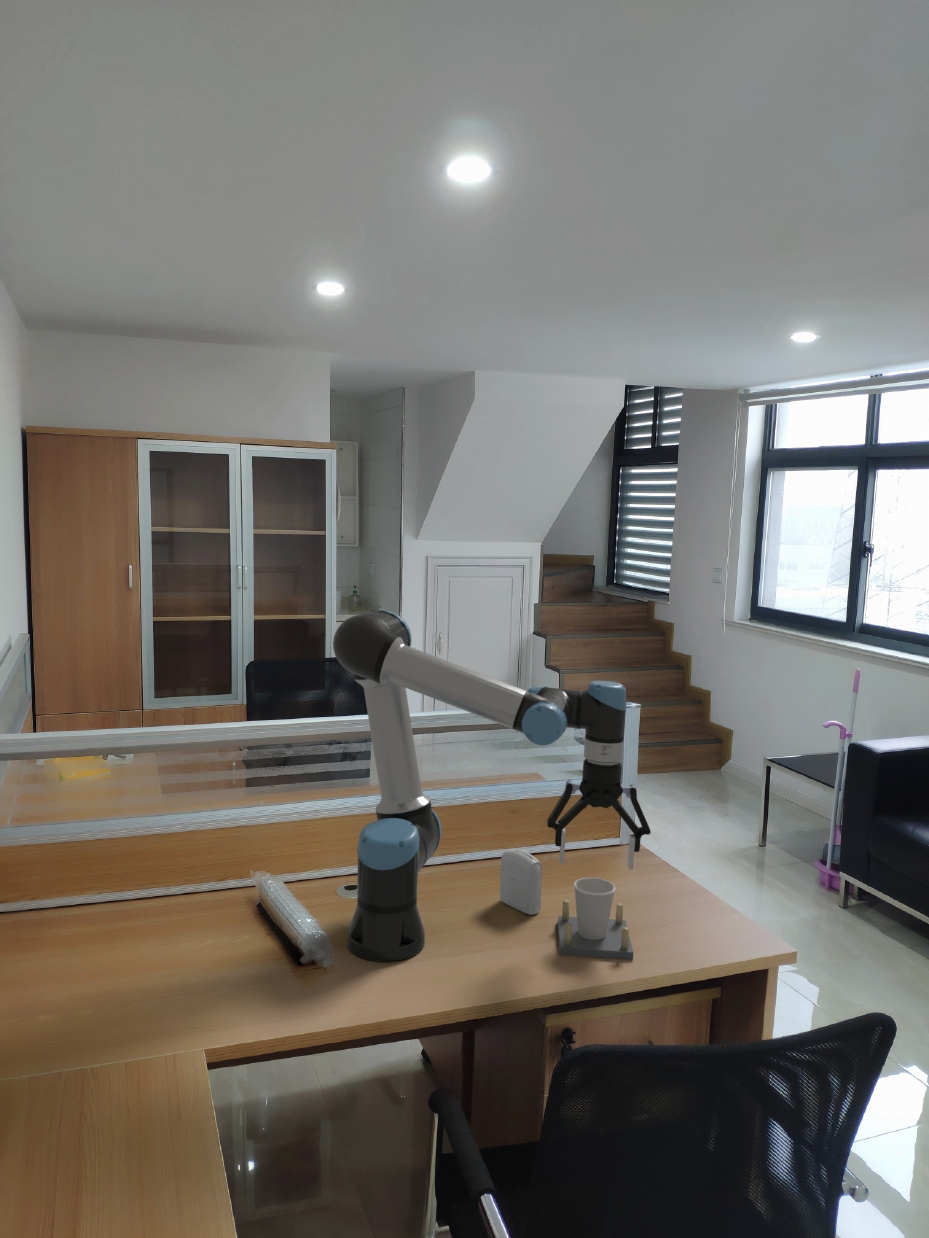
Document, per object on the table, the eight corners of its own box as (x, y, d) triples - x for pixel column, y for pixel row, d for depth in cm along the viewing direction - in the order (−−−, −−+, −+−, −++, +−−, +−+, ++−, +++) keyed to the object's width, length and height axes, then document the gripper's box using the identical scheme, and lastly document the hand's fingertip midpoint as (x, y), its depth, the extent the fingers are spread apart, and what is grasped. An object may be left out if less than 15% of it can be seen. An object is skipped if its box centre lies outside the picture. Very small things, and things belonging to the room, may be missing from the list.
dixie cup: (616, 943, 173) (619, 894, 172) (574, 942, 172) (576, 893, 171) (609, 924, 181) (611, 877, 180) (568, 923, 181) (570, 876, 180)
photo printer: (496, 900, 194) (498, 846, 193) (511, 896, 197) (513, 842, 196) (528, 917, 186) (531, 861, 185) (543, 912, 189) (545, 856, 188)
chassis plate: (559, 954, 170) (561, 927, 170) (557, 922, 184) (558, 897, 184) (632, 959, 169) (634, 932, 169) (625, 927, 183) (626, 901, 183)
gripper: (539, 761, 170) (533, 866, 172) (670, 769, 168) (661, 876, 171) (539, 751, 178) (533, 852, 180) (664, 759, 176) (656, 861, 178)
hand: (595, 864), depth 175 cm, fingers open, 13 cm apart
